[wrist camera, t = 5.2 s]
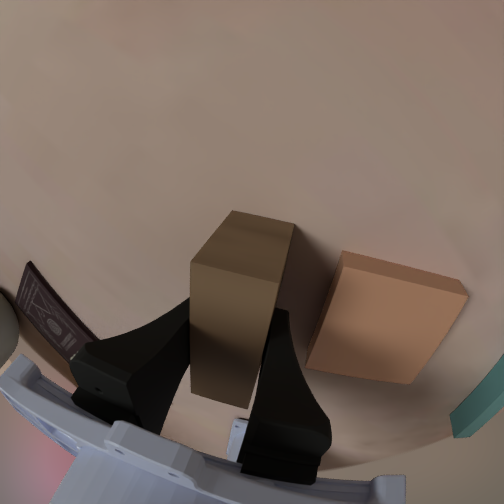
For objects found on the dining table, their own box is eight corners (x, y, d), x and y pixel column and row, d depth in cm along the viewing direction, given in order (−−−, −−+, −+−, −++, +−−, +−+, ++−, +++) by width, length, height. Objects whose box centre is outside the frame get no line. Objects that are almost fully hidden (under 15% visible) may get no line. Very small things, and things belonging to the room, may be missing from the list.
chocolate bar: (26, 263, 20) (166, 405, 24) (33, 258, 21) (170, 397, 25) (14, 302, 24) (126, 413, 28) (20, 297, 25) (129, 407, 29)
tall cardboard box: (266, 342, 18) (247, 409, 13) (219, 330, 18) (191, 392, 14) (294, 223, 14) (279, 283, 9) (232, 210, 14) (190, 261, 10)
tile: (405, 361, 17) (409, 384, 15) (307, 344, 18) (304, 367, 16) (456, 275, 13) (468, 296, 12) (341, 245, 14) (343, 266, 12)
